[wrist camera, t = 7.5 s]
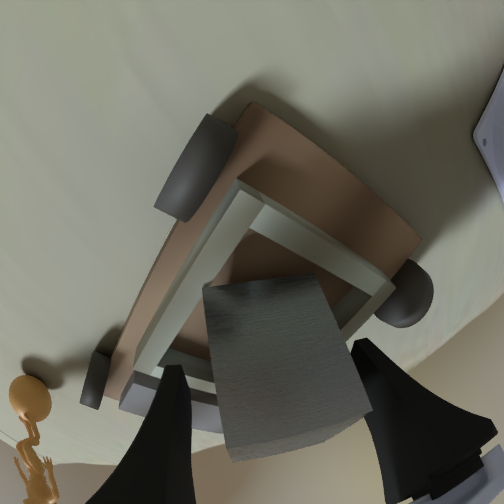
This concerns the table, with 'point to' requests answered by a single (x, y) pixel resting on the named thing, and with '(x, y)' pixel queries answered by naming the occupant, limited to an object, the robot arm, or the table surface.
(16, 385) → the figurine
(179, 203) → the toy car chassis
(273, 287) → the brushed grey box
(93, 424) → the table surface
